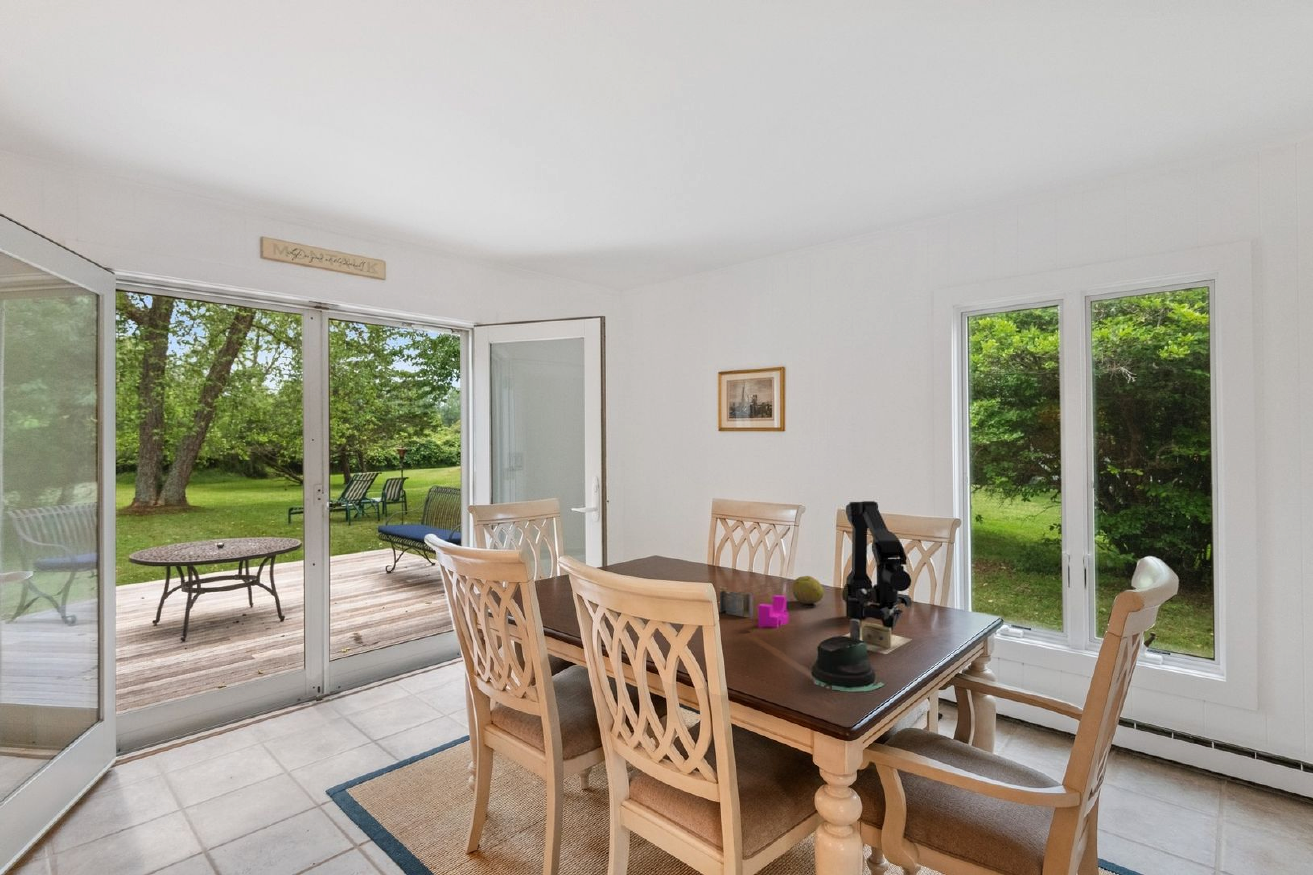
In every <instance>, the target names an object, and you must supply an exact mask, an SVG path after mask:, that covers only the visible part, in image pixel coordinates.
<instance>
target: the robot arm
mask: <svg viewBox="0 0 1313 875" xmlns="http://www.w3.org/2000/svg"><path fill="white" fill-rule="evenodd" d="M845 515H846V516H847V518H846V519H847V521H848V523H849V524H850V526H851V528H852V532H851V533H852V534H851V535H852V536H851V537H852V538H851V539H852V540H851V544H852V545H851V570H850V572H849V573H848V575H847V576H846V579H845V580H846V582H845V584H844V586H843V589H842V592H841V598H842V600H843V601H844V602H845V612H846V615H845V617H846V618H847V617H850V618H851V619H858V620H860V619H862V620H867V619H874V620H880V621H881V622H882V625H883V626H888V627H891V635H893V634H892V633H893V631H894V629H895V627H896V625H897V623H898V621H899V620H900V617H901V615H902V613H903V610H901V609H899V607H897V606H899V605H901V604H903V605H904V606H905V607H906V608H910V606H912V598H911V596H909V595H908V594H902V593H899V592H904V591H907V590H908V589H909V588H910V586H911V584H912V578H911V575H910V574H909V573H908V572H907V571H906V570H905V567H904V566H906V565H907V555H906V552H905V549H904V546H903V543H902V542H901V541H900V539H899V538H898V536H897V535H896V534H894V532H891V531H889V528H888V527H887V525H886V523H885V520H884V519H883V516H882V514H881V513H880V510H879V504H878V502H876V501H875V500H873V501H872V500H869V501H868V500H866V501H863V500H862V501H850V502H849V503H847V505H846V506H845ZM868 529H869V530H868ZM868 531H869V532H870V534H871V536H872V542H871V552H872V555H873V557H874V559H875V563H876V564H875V565H876V583H875V584H874V585H873V582H872V579H871V578H870V577H869V575H868V573H867V567H868V566H867V565H868V563H867V562H868V560H867V559H868ZM869 603H870V604H869Z"/></svg>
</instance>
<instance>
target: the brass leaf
mask: <svg viewBox="0 0 1313 875" xmlns="http://www.w3.org/2000/svg"><path fill="white" fill-rule="evenodd" d="M863 626H866V627H871V628H875V629H879V630H884V631H888V632H889V647H890V646H891V635H892V634H891V627H888V626H883V624H878V623H873V622H870V621H866V620H862V621H861V628H862V640H863Z"/></svg>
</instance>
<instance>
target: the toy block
mask: <svg viewBox="0 0 1313 875" xmlns="http://www.w3.org/2000/svg"><path fill="white" fill-rule="evenodd" d="M757 612H758V628H765V627H772V628H779V627H780V626H782V625H783V626H784V625H787V623H788V624H789V622H790V621H789V617H790V616H789V612H787V596H785V595H780V594H779V595H777V594H775V595H773V597H772V604H768V603H760V604H759V605H758V611H757Z"/></svg>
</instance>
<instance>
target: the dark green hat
mask: <svg viewBox="0 0 1313 875" xmlns="http://www.w3.org/2000/svg"><path fill="white" fill-rule="evenodd" d="M811 668H812V671H811V676H812V677H813V678H814V681H813V684H815V685H817V686H821V687H822V688H823V687H825V689H830V686H831V690H835V691H836V690H837V691H841V692H850V693H853V692H870V691H873V690H877V689H878V688H880V687H883V686H884V685H885V684H886V682H885V683H884V682H879V683H877V684H876V681H877V678H876V673H875V672H877V670H875V669H873V668H872V667H871V661H870V658H869V656H868V650H867V644H866V643H865V642H864V641H861V640H860V639H855V638H851V637H847V636H844V635H836V636H830V637H828V638H826V639H824V640H822V641H821V642H820V643H818V645H817V660H816V661H815V663H813V665H812V667H811ZM874 684H875V685H874ZM826 685H828V686H826Z"/></svg>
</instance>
